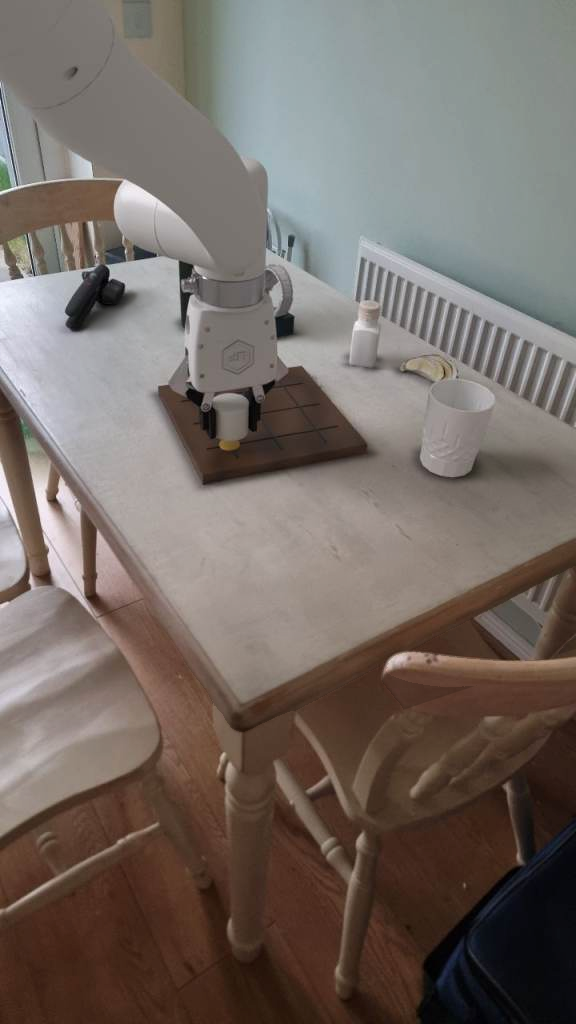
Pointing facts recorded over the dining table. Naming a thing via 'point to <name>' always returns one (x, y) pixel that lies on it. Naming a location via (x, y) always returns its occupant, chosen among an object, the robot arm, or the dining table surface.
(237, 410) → the white cylinder
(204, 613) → the dining table surface
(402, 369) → the oyster shell
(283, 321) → the watch
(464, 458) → the white cup
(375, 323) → the pepper shaker
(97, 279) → the can opener
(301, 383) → the board
